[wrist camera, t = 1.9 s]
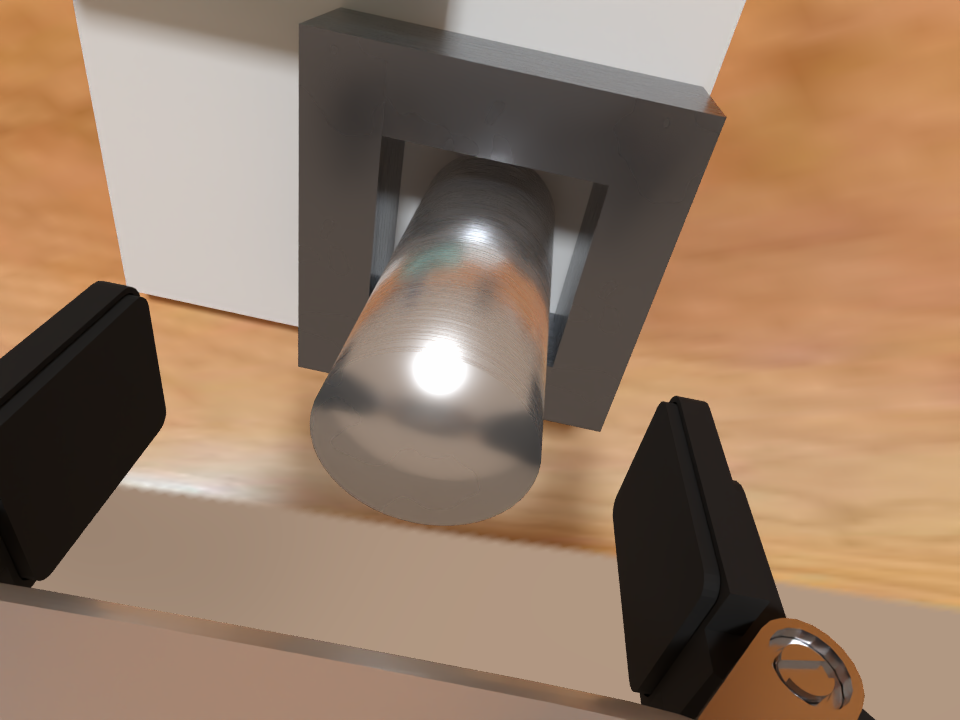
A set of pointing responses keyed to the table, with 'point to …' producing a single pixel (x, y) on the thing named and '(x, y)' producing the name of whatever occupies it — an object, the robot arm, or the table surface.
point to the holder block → (500, 137)
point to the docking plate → (275, 123)
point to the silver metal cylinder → (449, 355)
